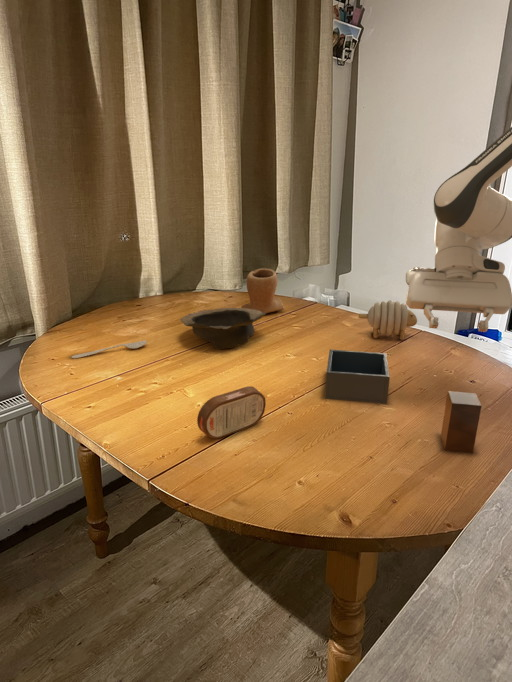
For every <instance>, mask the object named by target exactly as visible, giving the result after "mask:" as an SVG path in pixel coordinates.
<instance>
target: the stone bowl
mask: <svg viewBox="0 0 512 682" xmlns="http://www.w3.org/2000/svg"><path fill="white" fill-rule="evenodd" d="M267 314H268V313H267V312H263V313H261V311H257V310H253V309H245V308H241V307H222V308H220V307H219V308H213V309H204V310H199V311H197V312H192V313H188V314H186V315H184V316H182V317H180V323H182V324H183V325H184V326H186V327H191V328H192V332H193V333H194V335H195V336H197V337H199V338H200V339H203V340H204V341H206V342H210V343H213V344H214V347H215V348H216V349H217V350H223V349H226V350H228V349H233V348H236V347H238V346H243V345H245V344H247V343H248V341H249V338H251V337H253V335H254V334H255V327H254V325H253V324H254V323H255V322H257V321H259V320H260V319H262V318H263V317H264V316H265V315H267Z"/></svg>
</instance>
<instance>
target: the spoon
mask: <svg viewBox="0 0 512 682" xmlns="http://www.w3.org/2000/svg"><path fill="white" fill-rule="evenodd" d="M147 343H148V341H147V340H140V341H135V342H129V343H121V344H120V343H119V344H117V345H113V346H109V347H104V348H102V349H96V350H93V351H88V352H84V353H79V354H74V355H72V356H71V358H72V359H81V358H85V357H89V356H92V355H97V354H100V353H103V352H105V351H108V350H111V349H112V350H113V349H115V348H119V347H126V348H128V349H139V348H141V347H143V346H145V345H146V344H147Z"/></svg>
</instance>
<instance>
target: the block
mask: <svg viewBox="0 0 512 682" xmlns="http://www.w3.org/2000/svg"><path fill="white" fill-rule="evenodd" d="M481 412H482V403H481V401H480V399H479V397H478V396H477V393H475V392H466V391H452V390H447V393H446V400H445V406H444V413H443V420H442V426H441V432H440V438H441V442H442V446H443V449H444V451H448V452H458V453H467V454H468V453H469V454H473V453H474V449H475V444H476V439H477V432H478V428H479V421H480V416H481Z"/></svg>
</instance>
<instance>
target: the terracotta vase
mask: <svg viewBox="0 0 512 682" xmlns="http://www.w3.org/2000/svg"><path fill="white" fill-rule="evenodd" d="M278 280H279V279H278V275H277V272H276V271H275V270H274V269H272V268H265V267H264V268H262V267H261V268H256V269H254V270H251V271H250V272H249V273H248V274H247V275H246V290H247V294H248V297H249V302H248V303H244V304H242V305H241V307H240V308H245V309H253V310H257V311H261V313H263V312H267V313H266V314H269V313H273V312H278V311H283V310H284V309H285V307H284V306H285V305H284V304H283V303H282V300H281V298H279V297H275V294H276V291H277V287H278V283H279V282H278Z"/></svg>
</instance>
